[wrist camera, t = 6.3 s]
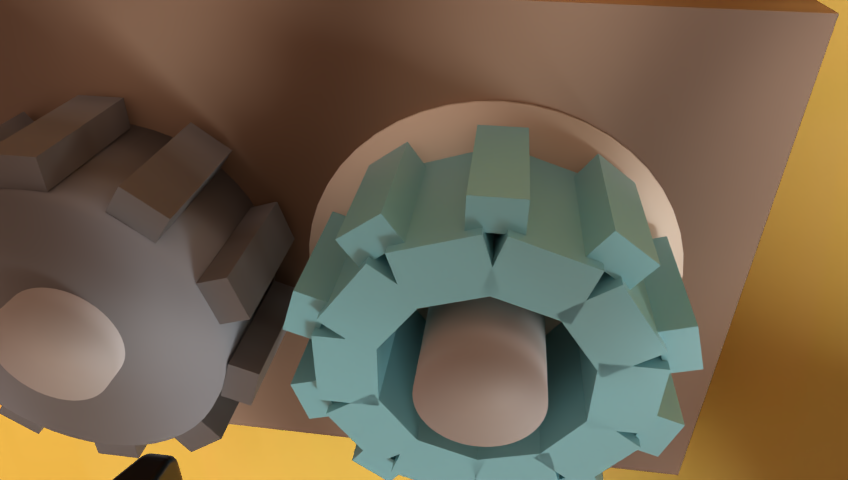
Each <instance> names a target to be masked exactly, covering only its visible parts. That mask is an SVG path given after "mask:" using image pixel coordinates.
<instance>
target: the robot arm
mask: <svg viewBox="0 0 848 480" xmlns="http://www.w3.org/2000/svg"><path fill="white" fill-rule="evenodd" d="M113 480H183V479H182V476H181V472H180V469H179V466H178V462H177V460H176V459H175V458H174V457H173V456H168V455H160V454H146V455H144V456H142V457H140V458H139V459H138V460H137V461H135V462H134V463H133V464H132V465H130V466H129V467H128V468H127V469H125V470H124V471H123V472H122V473H120V474H119V475H118V476H117V477H115V478H114V479H113Z"/></svg>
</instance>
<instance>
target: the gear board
mask: <svg viewBox="0 0 848 480" xmlns="http://www.w3.org/2000/svg"><path fill="white" fill-rule="evenodd" d="M837 17H838V13H837V12H835V11H833V10H832V9H830V8H828V7H827V6H825V5H823V4H822V3H820V2H818V1H817V0H0V405H2V407H1V409H0V414H2V415H4V416H6V417H8V418H9V419H11V420H13V421H15V422H17V423H19V424H21V425H23V426H25V427H27V428H29V429H30V430H32V431H34V432H36V433H38V434H39V433H40V432H41V430H42V429H43V428H44V427H45V428H47V429H50V430H52V431H55V432H58V433H61V434H64V435H67V436H70V437H74V438H78V439H82V440H86V441H90V442H95V445H96V447H97V450H98V452H99V453H102V454H110V455H118V456H126V457H135V458H139V457H140V455H141V453H142V452H143V450H144V449H145V447H146V445H147V444H152V443H158V442H161V441H165V440H169V439H172V438H175V439H177V440H178V441H179V442H180V443H181V444H182V445H184V446H185V447H186V448H187V449H188V450H190V451H191V452H192V451H195V450H197V449H199V448H201V447H204V446H206V445H208V444H210V443H213V442H215V441H217V440H219V439H221V438H222V436H223V434H224V432H225V430H226V428H227V426H228V424H235V425H244V426H252V427H261V428H270V429H279V430H288V431H296V432H305V433H314V434H323V435H331V436H340V437H349V436H348V435H347V434H346V433H345V432H344V431H343V430H342V429H341V428H340V427H339V426H338V425H337V424H336V423H335V422H334V421H333V420H332V419H331V418H330V417H329V416H328V417H320V418H312V419H309V417H308V415H307V414H306V412H305V410H304V408H303V406H302V405H301V403H300V401H299V399H298V397H297V396H296V394H295V392H294V390H293V388H292V387H291V385H290V384H291V382H292V379H293V377H294V375H295V372H296V370H297V368H298V365H299V363H300V360H301V358H302V356H303V353H304V351H305V348H306V346H307V344H308V341H309V338H307V337H304V336H301V335H298V334H295V333H292V332H289V331H286V330H283V326H284V322H285V319H286V315H287V311H288V308H289V304H290V301H291V297H292V293H293V290H294V288H295V286H296V284H297V282H298V280H299V278H300V276H301V274H302V272H303V270H304V268H305V266H306V264H307V262H308V260H309V258H310V256H311V254H312V252H313V250H314V248H315V246H316V244H317V242H318V240H319V238H320V236H321V234H322V232H323V230H324V228H325V226H326V224H327V222H328V220H329V218H330V216H331V214H332V212H336V213H339V214H342V215H344V216H346V215H347V212H348V210H349V208H350V206H351V204H352V201H353V199H354V197H355V195H356V193H357V191H358V188H359V186H360V184H361V182H362V180H363V177H364V175H365V173H366V171H367V169H368V167H369V165H370V164H372V163H374V162H375V161H377V160H378V159H380V158H382V157H383V156H385V155H387V154H388V153H390V152H391V151H393V150H395V149H396V148H398V147H399V146H401V145H403V144H404V143H406V142H408V143H409V144H410V146H411V147H412V148H413V150H414V151H415V152H416V154H417V155H418V156H419V158H420V159H421V160H422V162H423V163H427V162H431V161H435V160H440V159H444V158H448V157H453V156H457V155H461V154H466V153H470V152H473V149H474V143H475V136H476V130H477V125H492V126H509V127H526V128H529V156H532V157H535V158H538V159H540V160H543V161H546V162H548V163H551V164H554V165H557V166H559V167H562V168H565V169H567V170H570V171H573V172H576V173H578V172H579V171H581V170H582V169H583V168H584V167H585V166H586V165H587V164H588V163H589V162H590V161H591V160H592V159H593V158H594V157H595V156H596V155H597V154H600V155H601V156H602V157H603V158H605V159H606V160H607V161H608V162H610V163H611V164H612V165H613V166H615V167H616V168H617V169H618V170H620V171H621V172H622V173H623V174H625V175H626V176H627V177H628V178H630V179H631V180H632V181H633V182H635V184H636V187H637V191H638V194H639V197H640V200H641V203H642V207H643V210H644V213H645V216H646V220H647V223H648V226H649V229H650V232H651V236H652V239H654V238H660V237H665V236H667V238H668V241H669V244H670V247H671V249H672V252H673V255H674V258H675V261H676V264H677V267H678V270H679V273H680V275H681V278H682V281H683V284H684V287H685V290H686V293H687V296H688V298H689V301H690V304H691V307H692V310H693V313H694V316H695V319H696V321H697V324H698V329H699V337H700V345H701V353H702V361H703V369H701V370H693V371H685V372H677V373H671V375H672V379H673V383H674V386H675V390H676V394H677V398H678V401H679V405H680V409H681V413H682V416H683V420H684V424H685V426H684V427H683V428H682V429H681V431H680V432H679V433H678V434H677V435H676V436H675V438H674V439H673V440H672V441H671V442H670V443H669V444H668V446H667V447H666V448H665V449H664V450H663V451H662V453H661V454H660V455H659V456H658V457H657V456H654V455H651V454H648V453H645V452H642V451H639V450H637V451H635V452H633V453H632V454H630V455H629V456H627V457H625V458H624V459H622V460H621V461H619V462H617V463H616V464H614V465H613V466H611V467H612V468H621V469H630V470H639V471H647V472H656V473H665V474H674V475H678V474H679V471H680V468H681V465H682V462H683V459H684V456H685V454H686V451H687V448H688V445H689V442H690V439H691V436H692V433H693V431H694V428H695V425H696V422H697V419H698V416H699V413H700V410H701V408H702V405H703V402H704V399H705V396H706V393H707V390H708V388H709V385H710V382H711V379H712V376H713V373H714V370H715V367H716V365H717V362H718V359H719V356H720V353H721V350H722V347H723V344H724V342H725V339H726V336H727V333H728V330H729V327H730V324H731V322H732V319H733V316H734V313H735V310H736V307H737V304H738V301H739V299H740V296H741V293H742V290H743V287H744V284H745V281H746V278H747V276H748V273H749V270H750V267H751V264H752V261H753V258H754V256H755V253H756V250H757V247H758V244H759V241H760V238H761V235H762V233H763V230H764V227H765V224H766V221H767V218H768V215H769V212H770V210H771V207H772V204H773V201H774V198H775V195H776V192H777V190H778V187H779V184H780V181H781V178H782V175H783V172H784V169H785V167H786V164H787V161H788V158H789V155H790V152H791V149H792V146H793V144H794V141H795V138H796V135H797V132H798V129H799V126H800V124H801V121H802V118H803V115H804V112H805V109H806V106H807V103H808V101H809V98H810V95H811V92H812V89H813V86H814V83H815V80H816V78H817V75H818V72H819V69H820V66H821V63H822V60H823V58H824V55H825V52H826V49H827V46H828V43H829V40H830V37H831V35H832V32H833V29H834V26H835V23H836V20H837ZM417 311H418V312H419V313H420V315H421V316H422V317H423V318H424V319H425V320H426V324H425V329H424V334H423V339H422V345H421V350H420V355H419V360H418V365H417V370H416V375H415V380H414V385H413V392H412V396H413V402H414V406H415V408H416V411H417V413H418V414H419V416H420V417H421V419H422V420H423V421H424V422H425V423H426V424H427V425H428V426H429V427H430V428H431V429H432V430H434V431H435V432H436V433H438V434H440V435H442V436H443V437H445V438H447V439H450V440H452V441H455V442H458V443H461V444H465V445H470V446H478V447H494V446H502V445H507V444H511V443H514V442H517V441H519V440H521V439H523V438H525V437H527V436H528V435H530V434H531V433H533V432H534V431H535V430H536V429H537V428H538V427H539V426H540V425H541V423H542V422H543V420H544V418H545V416H546V413H547V409H548V384H547V360H546V335H547V334H548V333H549V332H550V331H551V330H553V329H554V328H555V327H556V326H557V325H559V324H560V323H561V321H559V320H556V319H553V318H550V317H548V316H545V315H542V314H539V313H536V312H533V311H530V310H528V309H525V308H522V307H519V306H516V305H513V304H511V303H508V302H505V301H502V300H499V299H496V298H493V297H491V296H489V297H483V298H477V299H471V300H465V301H459V302H453V303H447V304H442V305H436V306H430V307H424V308H418V309H417ZM349 438H350V437H349Z"/></svg>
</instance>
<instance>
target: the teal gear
mask: <svg viewBox="0 0 848 480" xmlns="http://www.w3.org/2000/svg"><path fill="white" fill-rule="evenodd" d="M489 296H491V297H493V298H496V299H499V300H502V301H505V302H508V303H511V304H513V305H516V306H519V307H522V308H525V309H528V310H530V311H533V312H536V313H539V314H542V315H545V316H548V317H550V318H553V319H556V320H559V321H561V323H560V324H559V325H557V326H556V327H555V328H554V329H553V330H551V331H550V332H549V333H548V334H547V335H546V360H547V384H548V409H547V413H546V416H545V418H544V420H543V422H542V423H541V425H540V426H539V427H538V428H537V429H536V430H535V431H534V432H533V433H531V434H530V435H528V436H527V437H525V438H523V439H521V440H519V441H517V442H514V443H511V444H507V445H502V446H494V447H478V446H470V445H465V444H461V443H458V442H455V441H452V440H450V439H447V438H445V437H443V436H442V435H440V434H438V433H436V432H435V431H434V430H432V429H431V428H430V427H429V426H428V425H427V424H426V423H425V422H424V421H423V420H422V419H421V417H420V416H419V414H418V413H417V411H416V408H415V406H414V402H413V396H412V392H413V385H414V380H415V375H416V370H417V365H418V360H419V355H420V350H421V345H422V339H423V334H424V329H425V324H426V320H425V319H424V318H423V317H422V316H421V315H420V313H419V312H418V311H417V309H418V308H424V307H430V306H436V305H442V304H447V303H453V302H459V301H465V300H471V299H477V298H483V297H489ZM283 330H286V331H289V332H292V333H295V334H298V335H301V336H304V337H307V338H309V341H308V344H307V346H306V348H305V351H304V353H303V356H302V358H301V360H300V363H299V365H298V368H297V370H296V372H295V375H294V377H293V379H292V382H291V384H290V385H291V387H292V388H293V390H294V392H295V394H296V396H297V397H298V399H299V401H300V403H301V405H302V406H303V408H304V410H305V412H306V414H307V415H308V417H309V419H312V418H320V417H328V416H329V417H330V418H331V419H332V420H333V421H334V422H335V423H336V424H337V425H338V426H339V427H340V428H341V429H342V430H343V431H344V432H345V433H346V434H347V435H348V436H349V437H350V438H351V439H352V440H353V441H354V442H355V443H356V448H355V452H354V455H353V459H352V460H353V461H354V462H356V463H358V464H359V465H361V466H363V467H365V468H366V469H368V470H370V471H371V472H373V473H375V474H377V475H378V476H380V477H382V478H384V479H385V480H392V479H394V478H395V477H396V476H397V475H401V476H404V477H407V478H410V479H413V480H603V473H602V472H603V471H605V470H606V469H608V468H610V467H611V466H613V465H614V464H616V463H617V462H619V461H621V460H622V459H624V458H625V457H627V456H629V455H630V454H632V453H633V452H635V451H637V450H639V451H642V452H645V453H648V454H651V455H654V456H657V457H658V456H659V455H660V454H661V453H662V451H663V450H664V449H665V448H666V447H667V446H668V444H669V443H670V442H671V441H672V440H673V439H674V438H675V436H676V435H677V434H678V433H679V432H680V431H681V429H682V428H683V427H684V426H685V424H684V420H683V416H682V413H681V409H680V405H679V401H678V398H677V394H676V390H675V386H674V383H673V379H672V375H671V373H677V372H685V371H693V370H701V369H703V361H702V353H701V345H700V337H699V329H698V324H697V321H696V319H695V316H694V313H693V310H692V307H691V304H690V301H689V298H688V296H687V293H686V290H685V287H684V284H683V281H682V278H681V275H680V273H679V270H678V267H677V264H676V261H675V258H674V255H673V252H672V249H671V247H670V244H669V241H668V238H667V236H665V237H660V238H654V239H652V236H651V232H650V229H649V226H648V223H647V220H646V216H645V213H644V210H643V207H642V203H641V200H640V197H639V194H638V191H637V187H636V184H635V182H633V181H632V180H631V179H630V178H628V177H627V176H626V175H625V174H623V173H622V172H621V171H620V170H618V169H617V168H616V167H615V166H613V165H612V164H611V163H610V162H608V161H607V160H606V159H605V158H603V157H602V156H601V155H600V154H597V155H596V156H595V157H594V158H593V159H592V160H591V161H590V162H589V163H588V164H587V165H586V166H585V167H584V168H583V169H582V170H581V171H579V172H578V173H576V172H573V171H570V170H567V169H565V168H562V167H559V166H557V165H554V164H551V163H548V162H546V161H543V160H540V159H538V158H535V157H532V156H529V128H526V127H509V126H492V125H477V130H476V136H475V143H474V149H473V152H470V153H466V154H461V155H457V156H453V157H448V158H444V159H440V160H435V161H431V162H427V163H423V162H422V160H421V159H420V158H419V156H418V155H417V154H416V152H415V151H414V150H413V148H412V147H411V146H410V144H409V143H408V142H406V143H404V144H403V145H401V146H399V147H398V148H396V149H395V150H393V151H391V152H390V153H388V154H387V155H385V156H383V157H382V158H380V159H378V160H377V161H375V162H374V163H372V164H370V165H369V167H368V169H367V171H366V173H365V175H364V177H363V180H362V182H361V184H360V186H359V188H358V191H357V193H356V195H355V197H354V199H353V201H352V204H351V206H350V208H349V210H348V212H347V215H346V216H344V215H342V214H339V213H336V212H332V214H331V216H330V218H329V220H328V222H327V224H326V226H325V228H324V230H323V232H322V234H321V236H320V238H319V240H318V242H317V244H316V246H315V248H314V250H313V252H312V254H311V256H310V258H309V260H308V262H307V264H306V266H305V268H304V270H303V272H302V274H301V276H300V278H299V280H298V282H297V284H296V286H295V288H294V290H293V293H292V297H291V301H290V304H289V308H288V311H287V315H286V319H285V322H284V326H283Z"/></svg>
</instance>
